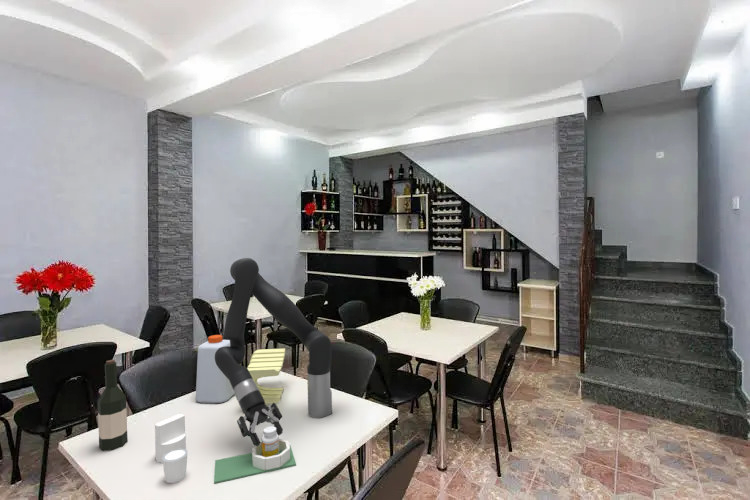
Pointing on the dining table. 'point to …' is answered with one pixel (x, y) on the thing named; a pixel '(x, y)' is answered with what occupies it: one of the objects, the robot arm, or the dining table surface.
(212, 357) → the plastic bottle
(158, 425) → the cylinder with rectangular tab
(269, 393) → the slatted curved stool
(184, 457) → the white tapered cup
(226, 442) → the dining table surface
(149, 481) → the dining table surface
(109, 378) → the wine bottle
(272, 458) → the green board with ring
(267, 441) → the supplement bottle
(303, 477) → the dining table surface
